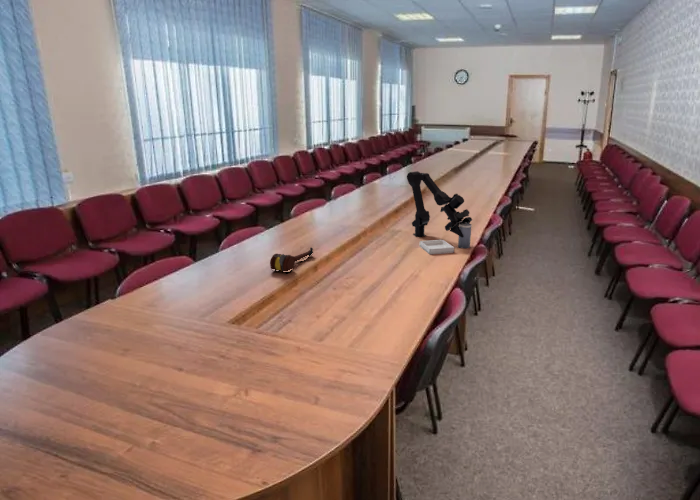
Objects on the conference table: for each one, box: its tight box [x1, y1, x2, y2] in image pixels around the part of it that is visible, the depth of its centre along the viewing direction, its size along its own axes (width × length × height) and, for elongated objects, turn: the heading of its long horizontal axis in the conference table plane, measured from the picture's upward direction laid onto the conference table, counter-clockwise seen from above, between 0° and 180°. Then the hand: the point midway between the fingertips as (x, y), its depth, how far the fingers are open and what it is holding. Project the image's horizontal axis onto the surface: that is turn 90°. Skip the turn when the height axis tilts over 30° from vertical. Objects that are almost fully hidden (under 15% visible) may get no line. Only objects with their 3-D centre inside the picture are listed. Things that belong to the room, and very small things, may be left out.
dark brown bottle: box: [269, 246, 314, 272], centre depth 242 cm, size 10×34×10 cm
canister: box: [457, 223, 473, 249], centre depth 269 cm, size 7×7×13 cm
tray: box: [418, 239, 455, 255], centre depth 267 cm, size 16×14×3 cm
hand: (466, 235), depth 268 cm, fingers closed on canister, 7 cm apart
